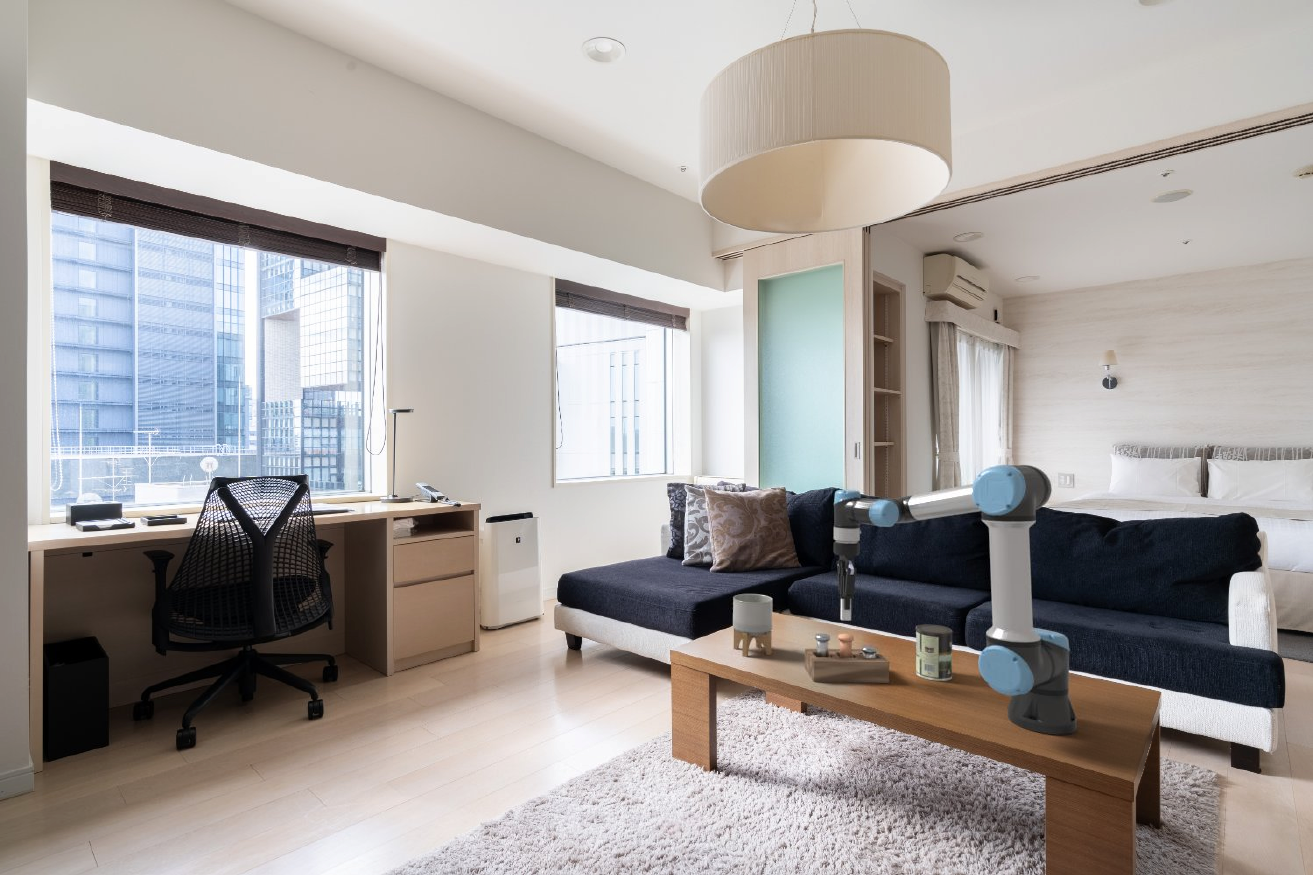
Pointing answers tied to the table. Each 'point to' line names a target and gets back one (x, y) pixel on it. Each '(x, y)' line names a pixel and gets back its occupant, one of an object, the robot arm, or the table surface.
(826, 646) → the grey plug
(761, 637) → the planter
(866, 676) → the wooden slotted block
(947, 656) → the coffee can
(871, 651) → the grey plug
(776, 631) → the table surface
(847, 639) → the terracotta plug
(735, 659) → the table surface
